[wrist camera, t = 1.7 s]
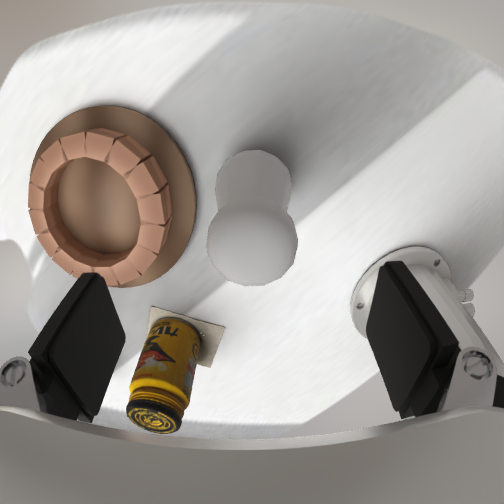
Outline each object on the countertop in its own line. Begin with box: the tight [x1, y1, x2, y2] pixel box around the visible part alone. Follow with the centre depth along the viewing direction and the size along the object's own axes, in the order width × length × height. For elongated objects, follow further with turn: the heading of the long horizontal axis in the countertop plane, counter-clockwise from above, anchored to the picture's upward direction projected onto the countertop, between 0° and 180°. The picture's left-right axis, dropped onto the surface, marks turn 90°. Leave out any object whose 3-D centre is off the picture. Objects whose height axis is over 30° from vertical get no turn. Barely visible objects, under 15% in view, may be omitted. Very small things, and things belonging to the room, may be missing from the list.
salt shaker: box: [207, 150, 298, 286], centre depth 19 cm, size 6×6×13 cm
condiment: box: [126, 307, 225, 434], centre depth 28 cm, size 7×8×12 cm
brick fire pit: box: [28, 106, 196, 288], centre depth 24 cm, size 18×18×4 cm
